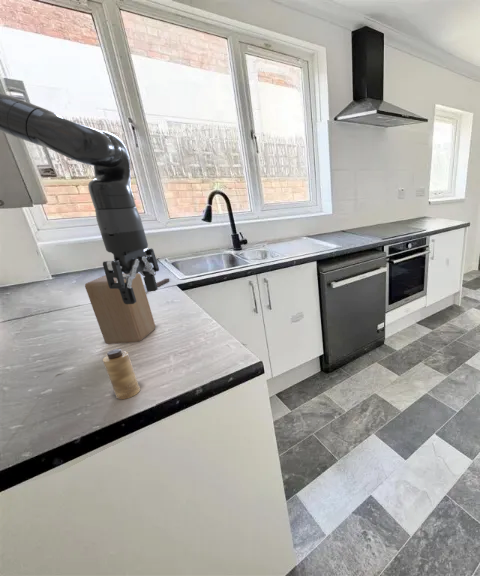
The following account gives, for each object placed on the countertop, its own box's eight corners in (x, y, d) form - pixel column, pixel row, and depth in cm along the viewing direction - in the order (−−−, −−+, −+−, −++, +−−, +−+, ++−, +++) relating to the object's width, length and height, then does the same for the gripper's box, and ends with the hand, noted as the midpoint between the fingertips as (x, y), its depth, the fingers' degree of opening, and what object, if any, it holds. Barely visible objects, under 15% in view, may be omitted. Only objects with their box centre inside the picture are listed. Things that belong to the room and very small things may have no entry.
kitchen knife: (165, 274, 153) (118, 294, 125) (167, 274, 153) (121, 294, 125) (167, 282, 155) (121, 303, 126) (169, 282, 155) (124, 303, 126)
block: (104, 345, 94) (81, 283, 87) (125, 330, 103) (106, 273, 96) (140, 342, 95) (121, 281, 88) (157, 328, 104) (141, 271, 98)
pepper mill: (114, 402, 69) (98, 359, 66) (118, 391, 73) (103, 349, 69) (138, 395, 71) (124, 353, 68) (141, 385, 75) (128, 344, 71)
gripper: (125, 225, 75) (143, 288, 80) (77, 234, 61) (103, 309, 67) (158, 224, 76) (174, 286, 81) (118, 233, 62) (140, 307, 68)
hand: (142, 296), depth 74 cm, fingers open, 8 cm apart
